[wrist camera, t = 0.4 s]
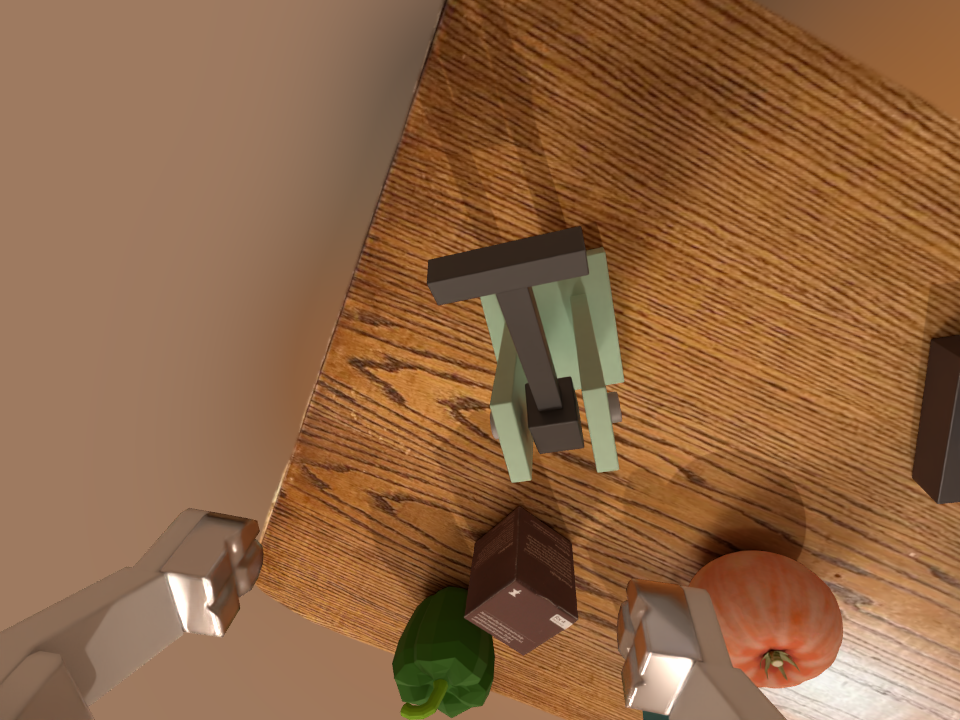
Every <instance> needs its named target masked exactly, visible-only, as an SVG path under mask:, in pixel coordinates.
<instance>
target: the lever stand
mask: <svg viewBox="0 0 960 720" xmlns="http://www.w3.org/2000/svg"><path fill="white" fill-rule="evenodd" d="M586 254H587V261H588V268H589V275H586V276H581V277H576V278H571V279H566V280H561V281H556V282H551V283H546V284H541V285H536V286H532V289H533V293H534V296H535V300H536V303H537V307H538V311H539V314H540V318H541V321H542V325H543V328H544V332H545V335H546V339H547V343H548V346H549V350H550V353H551V357H552V360H553V364H554V368H555V371H556V375H557V378H562V377H569V376H571V378H572V381H573V385H574V390H578V389H582V395H583V401H584V406H585V411H586V416H587V422H588V427H589V432H590V437H591V443H592V448H593V453H594V459H595V464H596V469H597V472H606V471H614V470H619V463H618V457H617V451H616V445H615V439H614V433H613V427H612V423H616V422H621V421H622V415H621V409H620V404H619V399H618V394H617V392H610V393H607V391H606V386H605V385H610V384H616V383H622V382H624V375H623V369H622V362H621V355H620V348H619V342H618V335H617V328H616V321H615V314H614V308H613V301H612V294H611V287H610V280H609V274H608V267H607V260H606V253H605V250H604V248H603V247H600V248H596V249H591V250H586ZM480 299H481V303H482V306H483V310H484V314H485V318H486V322H487V325H488V329H489V333H490V337H491V340H492V344H493V348H494V352H495V356H496V359H497V368H496V374H495V379H494V385H493V390H492V396H491V401H490V409H491V413H490V424H491V430H492V433H493V436H494V438H495V439H499V440H500V444H501V448H502V451H503V455H504V458H505V462H506V465H507V469H508V472H509V476H510V479H511V482H512V483H514V482H522V481H530V480H532V459H533V438H532V435H531V433H530V431H529V428H528V418H527V406H526V393H525V384H526V383H528V381H527V378H526V376H525V373H524V370H523V367H522V365H521V362H520V359H519V357H518V354H517V351H516V349H515V346H514V343H513V340H512V338H511V335H510V332H509V330H508V327H507V324H506V322H505V319H504V316H503V313H502V311H501V308H500V305H499V303H498V300H497V297H496V295H495V294H492V295H487V296H482V297H480Z"/></svg>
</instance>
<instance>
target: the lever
mask: <svg viewBox="0 0 960 720" xmlns="http://www.w3.org/2000/svg"><path fill="white" fill-rule="evenodd" d="M586 275H589V268H588V261H587V254H586V248H585V243H584V238H583V233H582V228H581V226H578V227H574V228H569V229H565V230H560V231H556V232H551V233H547V234H543V235H538V236H534V237H529V238H525V239H520V240H516V241H511V242H507V243H502V244H498V245H493V246H489V247H484V248H480V249H475V250H471V251H467V252H462V253H458V254H453V255H449V256H444V257H440V258H435V259H431V260H428V274H427V285H428V287H429V289H430V291H431V293H432V295H433V296H434V298H435V300H436V302H437V304H438V305H443V304H448V303H453V302H458V301H463V300H467V299H472V298H477V297H482V296H487V295H492V294H495V295H496V297H497V300H498V303H499V305H500V308H501V311H502V313H503V316H504V319H505V322H506V324H507V327H508V330H509V332H510V335H511V338H512V340H513V343H514V346H515V349H516V351H517V354H518V357H519V359H520V362H521V365H522V367H523V370H524V373H525V376H526V378H527V381H528V383H526V384H525V393H526V406H527V418H528V428H529V431H530V433H531V435H532V438H533V440H534V442H535V445H536V447H537V449H538V452H539V453H540V454H543V453H550V452H558V451H565V450H573V449H581V448H584V440H583V433H582V427H581V420H580V413H579V407H578V402H577V398H576V394H575V390H574V385H573V381H572V378H571V376H569V377H562V378H557V375H556V371H555V368H554V364H553V360H552V357H551V353H550V350H549V346H548V343H547V339H546V335H545V332H544V328H543V325H542V321H541V318H540V314H539V311H538V307H537V303H536V300H535V296H534V293H533V289H532V286H536V285H541V284H546V283H551V282H556V281H561V280H566V279H571V278H576V277H581V276H586Z"/></svg>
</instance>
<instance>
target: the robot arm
mask: <svg viewBox="0 0 960 720" xmlns="http://www.w3.org/2000/svg"><path fill="white" fill-rule="evenodd" d="M259 531H260V530H259V526H258V522H257V521H256V520H253V519H248V518H242V517H236V516H232V515H226V514H221V513H215V512H209V511H203V510H197V509H192V508H188V509H187V510H185V511H183V512H181V513H180V514H179V515H178V517H177V518H176V519H175V520H174V521H173V522H172V523H171V525H170V526H169V527H168V528H167V529H166V530H165V531H164V533H163V534H162V535H161V536H160V537H159V538H158V539H157V541H156V542H155V543H154V544H153V545H152V546H151V547H150V549H149V550H148V551H147V552H146V553H145V554H144V555H143V557H142V558H141V559H140V560H139V561H138V562H137V563H136V565H135V566H134V567H133V568H131V567H125V568H123V569H121V570H119V571H117V572H115V573H113V574H111V575H109V576H107V577H105V578H104V579H102V580H100V581H98V582H96V583H94V584H92V585H90V586H88V587H86V588H84V589H82V590H80V591H78V592H77V593H75V594H73V595H71V596H69V597H67V598H65V599H63V600H61V601H59V602H57V603H55V604H53V605H51V606H50V607H48V608H46V609H44V610H42V611H40V612H38V613H36V614H34V615H33V616H31V617H28V618H27V619H24V620H23V621H21V622H19V623H17V624H15V625H13V626H11V627H9V628H7V629H5V630H3V631H2V632H0V720H95V719H94V717H93V715H92V713H91V712H90V710H89V708H88V707H89V706H90V705H92V704H93V703H94V702H95V701H97V700H98V699H99V698H101V697H102V696H103V695H104V694H106V693H107V692H109V691H110V690H111V689H112V688H114V687H115V686H116V685H117V684H119V683H120V682H122V681H123V680H124V679H125V678H127V677H128V676H129V675H131V674H132V673H133V672H135V671H136V670H137V669H138V668H140V667H141V666H142V665H144V664H145V663H146V662H147V661H149V660H150V659H151V658H153V657H154V656H155V655H157V654H158V653H159V652H161V651H162V650H163V649H165V648H166V647H167V646H168V645H170V644H171V643H172V642H174V641H175V640H176V639H178V638H179V637H180V636H181V635H183V632H190V633H197V634H204V635H211V636H218V637H223V636H224V634H225V633H226V631H227V629H228V628H229V626H230V624H231V623H232V621H233V619H234V618H235V616H236V614H237V613H238V611H239V610H240V603H239V597H241V596H242V595H244V594H245V593H247V592H248V591H250V590H251V589H252V587H253V586H254V584H255V582H256V581H257V579H258V576H259V573H260V570H261V567H262V564H263V547H262V545H261V544H260V543H259V542H258V541H257V540H256V539H255V538H256V536H257V535H258V533H259ZM626 593H627V600H626V601H624V602H623V603H621V606H620V610H619V613H618V621H617V642H618V651H619V652H620V654H621V655H622V656H623V658H624V659H625V660H626V661H625V663H624V666H623V669H622V672H621V675H622V683H623V691H624V698H625V706H626V707H628V708H633V709H638V710H643V711H647V712H652V713H657V714H662V715H667V716H669V720H786V718H785V717H784V716H783V715H782V714H781V713H780V712H779V711H778V710H777V708H776V707H775V706H774V705H773V704H772V703H771V702H770V701H769V700H768V698H767V697H766V696H765V695H764V694H763V693H762V692H761V691H760V690H759V689H758V687H757V686H756V685H755V684H754V683H753V682H752V681H751V680H750V679H749V677H748V676H747V675H746V674H745V673H744V672H743V671H742V670H741V669H738V668H733V666H732V663H731V659H730V656H729V653H728V650H727V647H726V644H725V641H724V638H723V635H722V632H721V629H720V625H719V622H718V619H717V616H716V613H715V610H714V607H713V604H712V601H711V598H710V595H709V593H708V592H707V591H706V589H700V588H694V587H687V586H679V585H677V584H670V583H663V582H656V581H649V580H642V579H635V578H632V579H631V580H630V581H629V582H628V585H627V588H626Z"/></svg>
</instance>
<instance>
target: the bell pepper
mask: <svg viewBox="0 0 960 720" xmlns="http://www.w3.org/2000/svg"><path fill="white" fill-rule="evenodd" d="M467 595H468V590H466V589H464V588H457V587H447V588H444V589H442V590H440V591H438V592H437V593H436V594H435V595H434V596H429V597H428V598H426V599H425V600H424V601H423V602H422V603H421V604H420V605H419V606H417V608H416V610H415V611H414V613H413V615H412V617H411V618H410V620H409V622H408V624H407V626H406V628H405V630H404V632H403V634H402V636H401V638H400V640H399V642H398V645H397V649H396V652H395V656H394V659H393V663H392V665H393V672H394V679H395V681H396V683H397V686H398V689H399V692H400V696H401V699H402V701H403V702H407V703H406V704H404V705H403V707H402V709H401V716H403V717H405V718H407V719H409V720H414V719H424V718H426V717H428V716H430V715H432V714H433V713H435V712H436V710H437V709H438V710H440V711H441V712H443V713H445V714H446V715H448V716H449V717H451V718H453V717H455V716H457V715H458V714H460V713H462V712H464V711H466V710H468V709H470V708H471V707H477V706H482V705H483V704H484V702H485V700H486V698H487V697H488V695H489V692H490V689H491V685H492V682H493V676H494V661H495V655H494V647H493V639H492V635H491V634H489V633H487V632H486V631H484V630H483V629H481V628H479V627H478V626H476V625H475V624H473V623H472V622H470V621H468V620H467V619H465V618H464V615H465V609H466V600H467ZM410 703H412V704H417V705H420V706H416V705H414V706H413V705H411V704H410Z"/></svg>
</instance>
